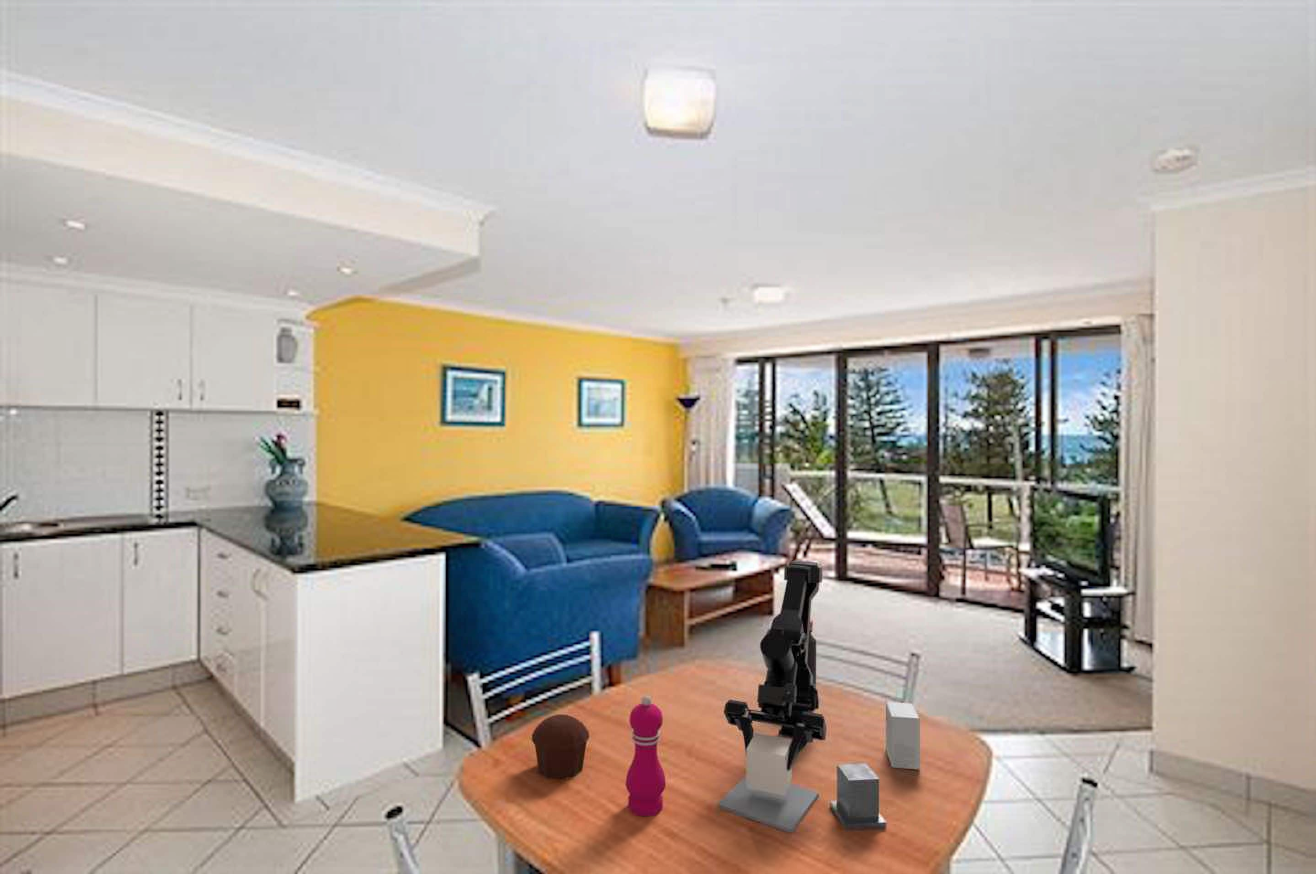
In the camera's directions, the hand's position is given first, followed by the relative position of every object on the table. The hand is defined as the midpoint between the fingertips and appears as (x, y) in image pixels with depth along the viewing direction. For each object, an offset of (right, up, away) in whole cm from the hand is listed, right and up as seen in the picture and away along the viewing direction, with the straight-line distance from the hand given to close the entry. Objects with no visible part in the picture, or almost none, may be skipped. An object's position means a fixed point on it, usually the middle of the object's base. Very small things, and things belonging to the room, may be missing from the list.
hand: (767, 766), depth 118 cm
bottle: (+17, -8, +50) cm, 53 cm away
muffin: (-40, -7, +13) cm, 42 cm away
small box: (+31, -8, +17) cm, 36 cm away
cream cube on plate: (+1, -4, +1) cm, 4 cm away
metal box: (+15, -7, -4) cm, 17 cm away
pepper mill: (-22, -7, -1) cm, 23 cm away
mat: (0, -7, +1) cm, 7 cm away
